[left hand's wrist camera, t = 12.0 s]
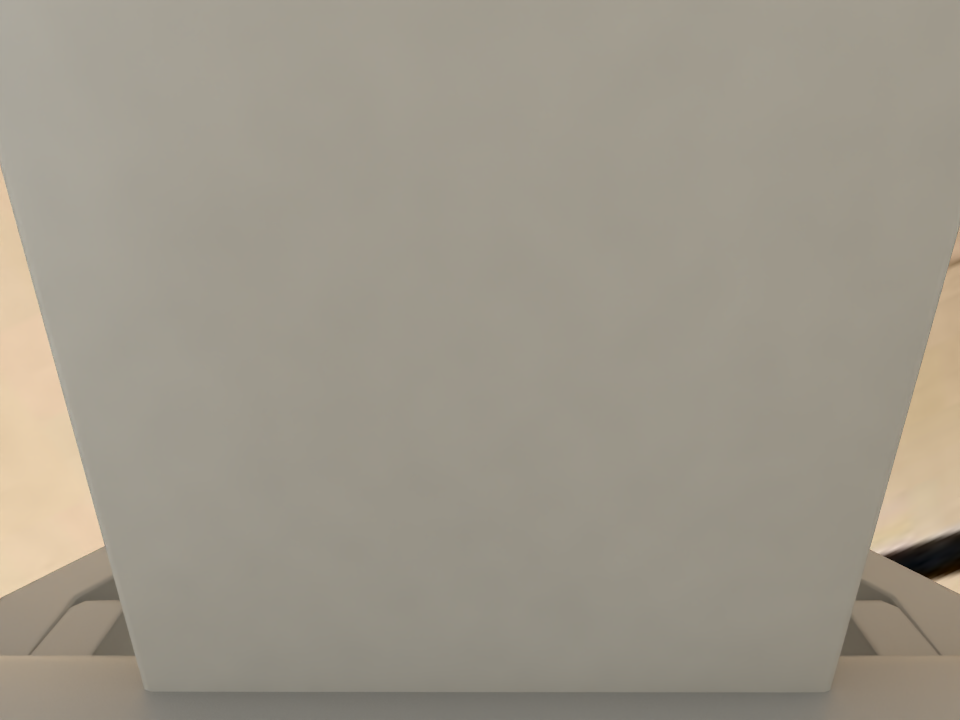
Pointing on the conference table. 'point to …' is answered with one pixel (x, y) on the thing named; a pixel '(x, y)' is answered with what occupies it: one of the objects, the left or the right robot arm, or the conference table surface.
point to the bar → (485, 325)
